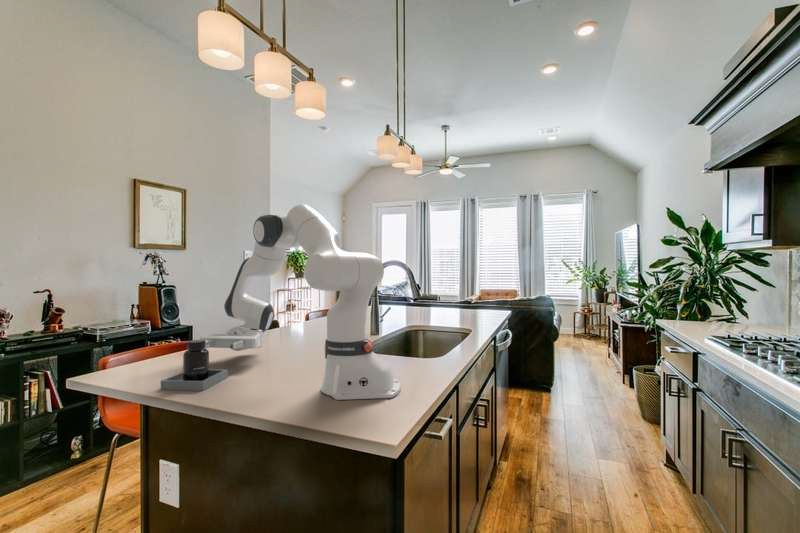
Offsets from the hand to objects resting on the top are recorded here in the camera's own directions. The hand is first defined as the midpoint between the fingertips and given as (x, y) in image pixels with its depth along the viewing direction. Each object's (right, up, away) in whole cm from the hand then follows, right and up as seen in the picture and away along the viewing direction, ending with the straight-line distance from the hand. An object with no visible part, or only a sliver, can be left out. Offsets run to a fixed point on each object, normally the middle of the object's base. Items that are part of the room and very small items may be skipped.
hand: (218, 346), depth 125 cm
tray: (-1, -9, -12) cm, 15 cm away
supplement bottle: (-1, -8, -12) cm, 14 cm away
